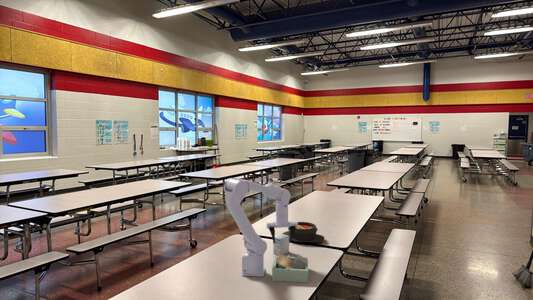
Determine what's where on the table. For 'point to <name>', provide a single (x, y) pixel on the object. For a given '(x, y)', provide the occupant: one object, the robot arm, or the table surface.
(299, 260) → the gray block
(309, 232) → the casserole
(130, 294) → the table surface
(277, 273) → the trapdoor frame
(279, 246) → the medicine box
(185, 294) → the table surface
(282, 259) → the trapdoor
